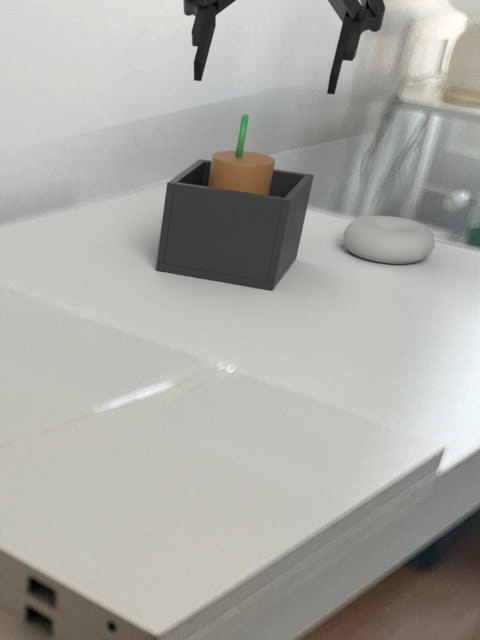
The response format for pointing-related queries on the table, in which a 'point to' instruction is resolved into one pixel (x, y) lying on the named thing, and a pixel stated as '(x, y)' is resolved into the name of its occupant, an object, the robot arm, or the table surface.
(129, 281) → the table surface
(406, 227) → the donut
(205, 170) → the bin
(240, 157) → the paper cup
